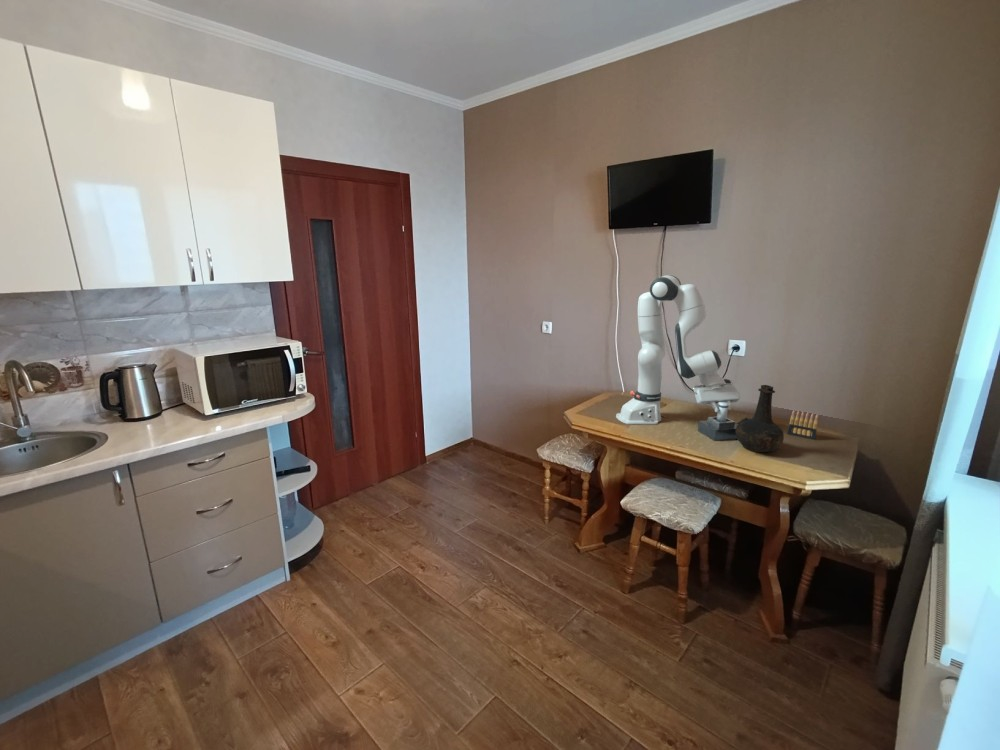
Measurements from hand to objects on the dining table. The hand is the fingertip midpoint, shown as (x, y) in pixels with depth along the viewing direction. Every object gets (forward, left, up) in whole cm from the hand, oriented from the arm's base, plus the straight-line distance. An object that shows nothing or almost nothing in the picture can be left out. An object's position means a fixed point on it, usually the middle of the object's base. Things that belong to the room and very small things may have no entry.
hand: (723, 411), depth 199 cm
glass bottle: (+6, -16, -12) cm, 21 cm away
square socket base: (0, +1, -12) cm, 12 cm away
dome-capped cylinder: (0, +1, -5) cm, 5 cm away
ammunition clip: (+35, -8, -12) cm, 38 cm away
